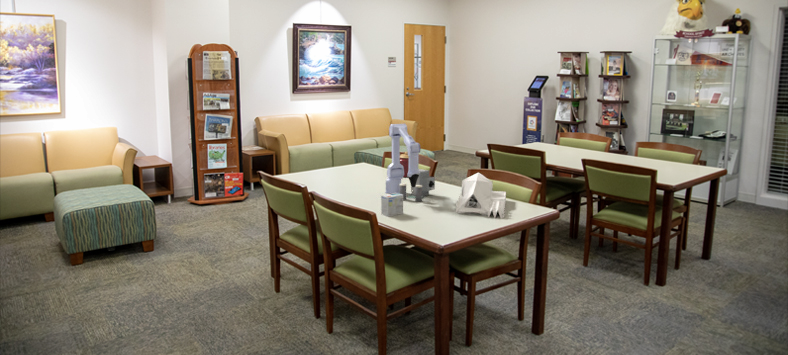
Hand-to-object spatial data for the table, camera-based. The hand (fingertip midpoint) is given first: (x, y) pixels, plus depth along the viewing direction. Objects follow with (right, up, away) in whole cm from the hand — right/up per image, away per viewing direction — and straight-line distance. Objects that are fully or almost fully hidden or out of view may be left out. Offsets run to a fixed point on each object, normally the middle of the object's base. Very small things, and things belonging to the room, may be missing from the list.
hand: (413, 186), depth 332 cm
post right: (+3, -8, +6) cm, 11 cm away
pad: (+2, -7, +15) cm, 16 cm away
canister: (-2, +6, +79) cm, 80 cm away
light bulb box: (-12, -15, -23) cm, 30 cm away
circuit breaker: (+7, -6, +21) cm, 23 cm away
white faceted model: (+40, -12, -8) cm, 42 cm away
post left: (-6, -8, +10) cm, 14 cm away
